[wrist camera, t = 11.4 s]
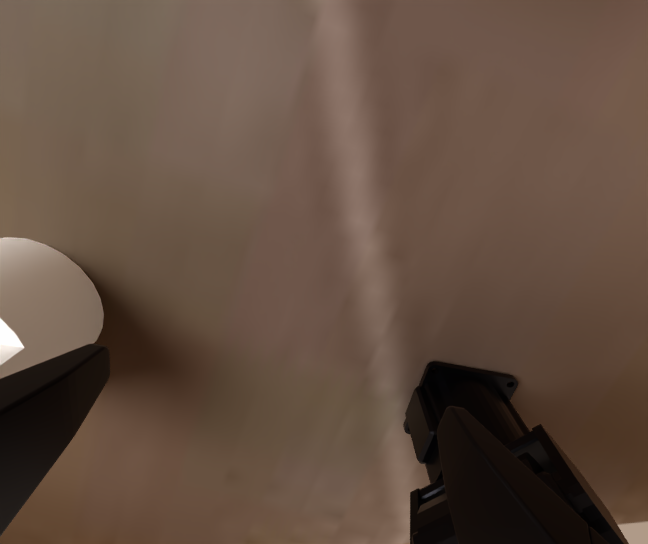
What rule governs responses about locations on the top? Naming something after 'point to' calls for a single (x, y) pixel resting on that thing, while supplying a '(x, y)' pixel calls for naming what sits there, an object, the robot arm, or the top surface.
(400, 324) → the top surface
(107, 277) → the top surface
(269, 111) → the top surface
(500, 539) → the robot arm
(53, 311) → the cylinder with rectangular tab
